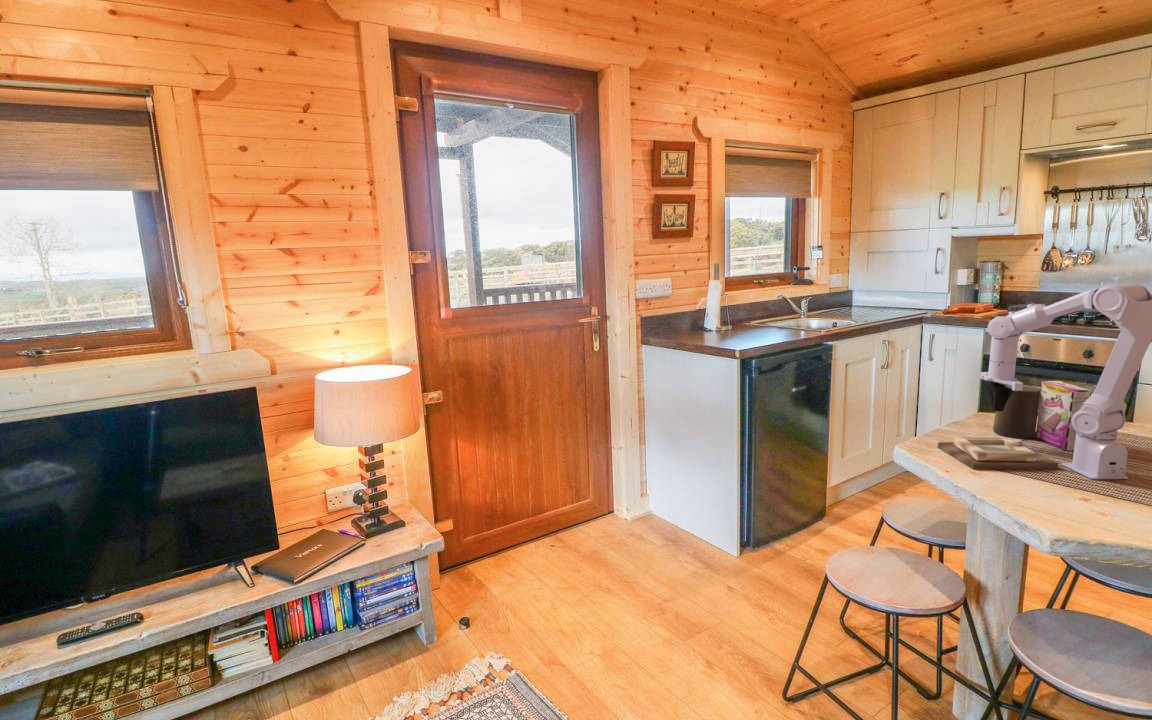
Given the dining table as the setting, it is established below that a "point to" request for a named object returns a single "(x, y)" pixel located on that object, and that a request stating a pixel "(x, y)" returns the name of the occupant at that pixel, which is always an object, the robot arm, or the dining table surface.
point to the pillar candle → (1019, 414)
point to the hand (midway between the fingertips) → (997, 410)
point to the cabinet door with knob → (994, 449)
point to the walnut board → (971, 462)
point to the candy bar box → (1059, 413)
